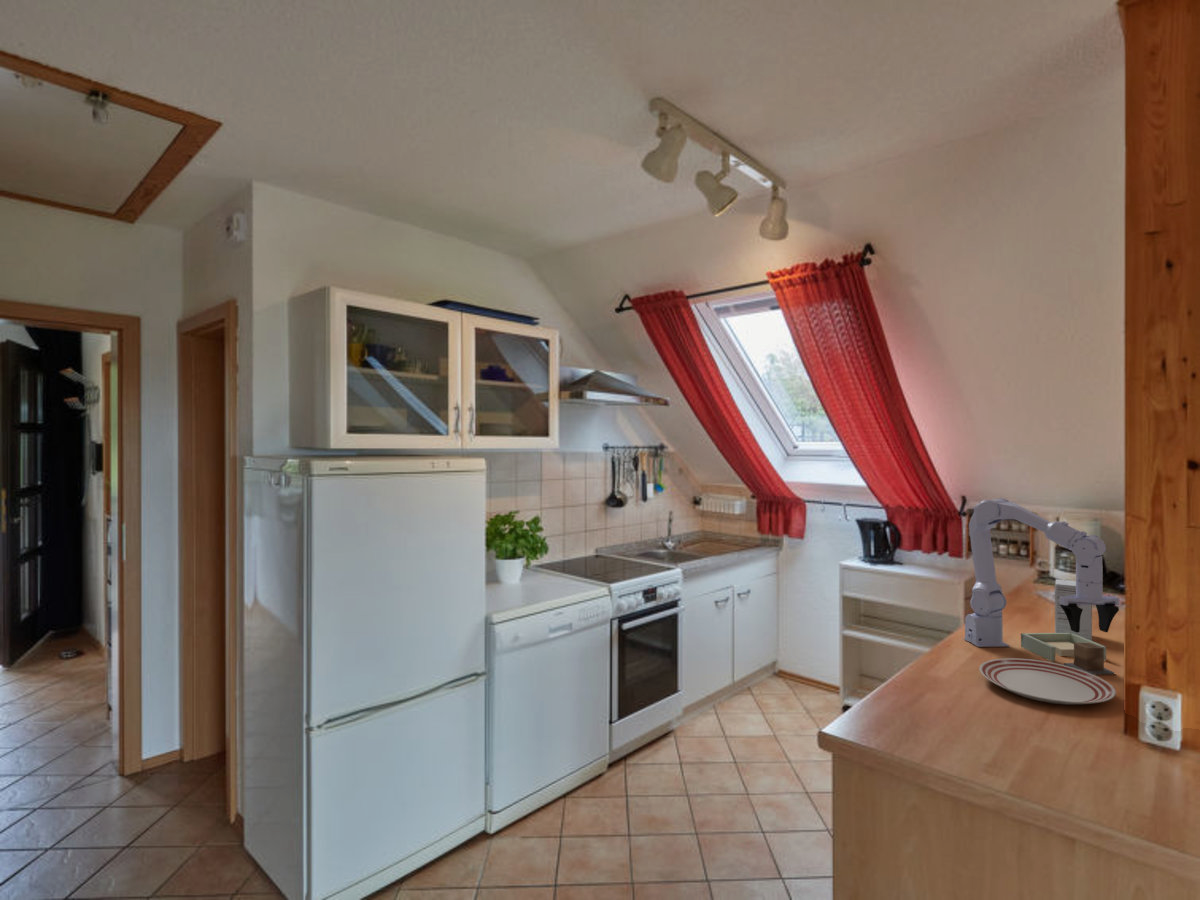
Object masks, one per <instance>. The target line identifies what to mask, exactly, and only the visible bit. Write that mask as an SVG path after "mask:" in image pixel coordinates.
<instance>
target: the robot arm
mask: <svg viewBox="0 0 1200 900" xmlns="http://www.w3.org/2000/svg"><path fill="white" fill-rule="evenodd" d="M969 520H970V521H969V523H968V529H969V537H970V544H971V545H970V546H971V552H972V561H973V569H974V577H975V583H974V585H973V587H972V588H971V594H972V595H971V597H970V601H969V604H970V607H971V609H972V610H973V611H974V613H969V614H967V615H966V616H965V618H964V637H963V639H964V640H965V641H967V642H969V643H970V642H971V644H972V645H974V646H976V647H978V648H979V647H980V648H981V647H983V648H984V647H985V648H986V647H987V648H988V647H990V648H995V647H998V648H999V647H1001V648H1004V647H1010V644H1009V643H1007V642H1004V640H1003V637H1004V636H1003V634H1004V632H1003V630H1004V629H1003V610H1004V609H1005V608H1006V606H1007V598H1006V596H1005V595H1004V593H1003V590H1002V586H1001V585H1000V584H999V582H998V581H997V576H996V567H995V560H994V551H993V545H992V537H991V530H992V529H993V527H995V526H996V525H997V524H998V523H1000V522H1002V521H1005V520H1016V521H1017V522H1020V523H1022V524H1025V525H1026V526H1028V527H1029V526H1030V527H1031V528H1034V529H1036V530H1038V531H1040V532H1043V533H1044V536H1045V538H1046V539H1048V540H1049V541H1051V542H1054V543H1055V544H1057V545H1059V546H1061V547H1063V548H1065V549H1067V550H1069V551H1071V552H1072V553H1073V554H1074V556H1075V581H1076V595H1073V596H1065V597H1060V604H1061V608H1062V609H1063V611H1064V612H1065V614H1066V616H1067V618H1068V621H1069V624H1070V628H1071V631H1074V632H1079V630H1080V617H1081V613H1082V611H1083V609H1081V608H1078V606H1077V605H1092V606H1094V605H1095V607H1096V611H1097V615H1098V629H1099V631H1101V632H1103V633H1109V630H1110V627H1111V624H1112V621H1113V620H1114V618H1115V617H1116V615H1117V613H1118V612H1119V610H1120V607H1119V606H1120V598H1119V597H1117V596H1111V595H1110V596H1107V595H1103V593H1104V591H1103V590H1104V589H1103V587H1104V585H1103V584H1104V583H1103V582H1104V581H1103V577H1104V575H1103V573H1104V572H1103V568H1104V567H1103V555H1104V554H1105V552H1106V550H1107V546H1106V543H1105V542H1104V540H1103V539H1101V538H1100V537H1098V536H1097V535H1093V534H1090V535H1088V533H1087V531H1084V530H1083V531H1080V530H1079V529H1075V527H1071V526H1069V523H1068V522H1067V521H1058V520H1057V521H1053V522H1051V521H1049V520H1047V519H1045V518H1043V517H1041V516H1040V515H1037V514H1036V513H1034V512H1033V511H1030V510H1028V509H1027V508H1025V507H1022V506H1021V505H1019V504H1018V503H1016V502H1013V501H1009V500H1008V499H1006V498H996V499H983V500H982V501H979V502H978V503H977V504H976V505H975V506H974V507H973V513H972V516H971V518H970V519H969Z"/></svg>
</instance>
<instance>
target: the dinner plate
mask: <svg viewBox="0 0 1200 900" xmlns="http://www.w3.org/2000/svg"><path fill="white" fill-rule="evenodd" d="M979 672H980V674H981V675H982V676H983V677H984V678H986V679H987V680H988V681H990V682H991V683H994V685H997V687H1000V688H1002V689H1004V690H1007V691H1009V692H1011V693H1013V694H1016V695H1017V696H1021V697H1023V698H1027V699H1029V700H1034V701H1038V702H1044V703H1049V704H1058V705H1091V704H1098V703H1100V704H1101V703H1104V702H1108V701H1111V700H1112V699H1113V698H1114V697H1115V696H1116V693H1117V692H1116V689H1115V688H1114V686H1113V685H1112V684H1110V683H1109V682H1108V681H1106V680H1105V679H1103V678H1101V677H1099V676H1098V675H1093V674H1090V673H1088V672H1085V671H1082V670H1079V669H1076V668H1072V667H1069V666H1066V665H1064V664H1060V663H1056V662H1052V661H1045V660H1038V659H1031V658H1017V657H1016V658H1013V657H1012V658H1007V657H1006V658H997V659H990V660H987V661H985V662H982V663H981V664H980V665H979Z"/></svg>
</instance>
